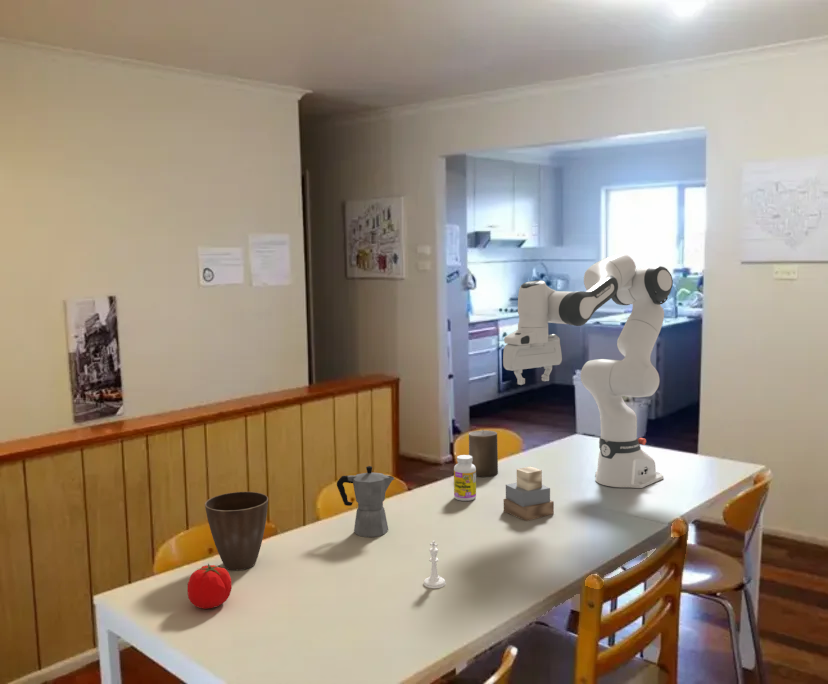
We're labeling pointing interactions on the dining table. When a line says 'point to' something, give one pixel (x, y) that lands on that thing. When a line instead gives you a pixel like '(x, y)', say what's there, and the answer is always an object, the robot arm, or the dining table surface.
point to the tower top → (527, 495)
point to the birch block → (529, 478)
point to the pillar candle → (484, 452)
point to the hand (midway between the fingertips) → (533, 382)
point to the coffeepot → (368, 501)
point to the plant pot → (237, 527)
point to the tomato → (209, 586)
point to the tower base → (529, 510)
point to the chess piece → (434, 570)
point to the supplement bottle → (464, 479)
